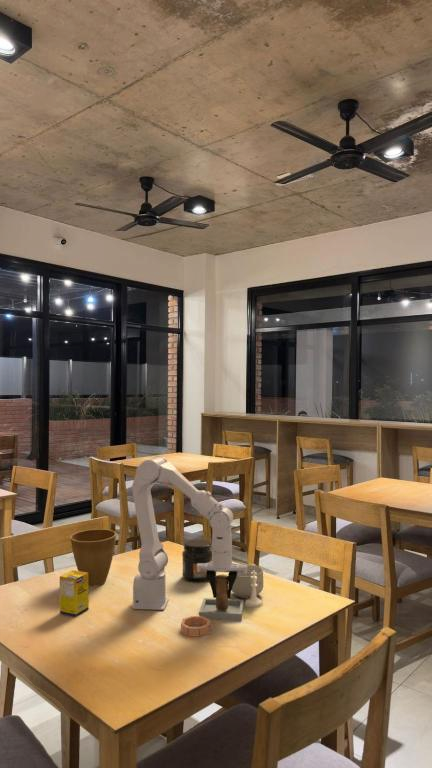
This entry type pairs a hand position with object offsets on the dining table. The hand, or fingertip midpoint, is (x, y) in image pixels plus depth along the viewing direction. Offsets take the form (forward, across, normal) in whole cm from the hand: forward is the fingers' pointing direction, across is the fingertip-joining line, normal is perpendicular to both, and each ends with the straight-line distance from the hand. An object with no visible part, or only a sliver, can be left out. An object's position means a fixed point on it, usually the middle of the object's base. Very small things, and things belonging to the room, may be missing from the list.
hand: (222, 596), depth 158 cm
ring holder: (+4, -6, -12) cm, 14 cm away
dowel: (+3, 0, 0) cm, 3 cm away
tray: (+4, 0, 0) cm, 4 cm away
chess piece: (+5, +9, +7) cm, 12 cm away
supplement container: (+5, -11, +27) cm, 30 cm away
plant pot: (+5, -45, +19) cm, 49 cm away
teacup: (+5, +7, +15) cm, 17 cm away
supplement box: (+5, -43, -4) cm, 43 cm away
